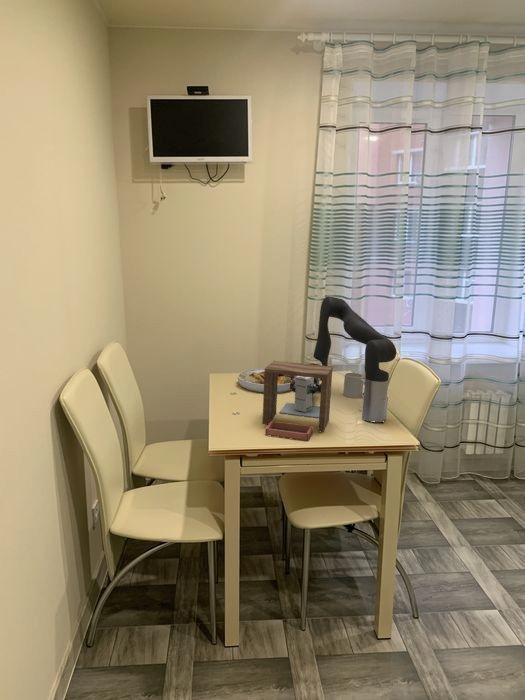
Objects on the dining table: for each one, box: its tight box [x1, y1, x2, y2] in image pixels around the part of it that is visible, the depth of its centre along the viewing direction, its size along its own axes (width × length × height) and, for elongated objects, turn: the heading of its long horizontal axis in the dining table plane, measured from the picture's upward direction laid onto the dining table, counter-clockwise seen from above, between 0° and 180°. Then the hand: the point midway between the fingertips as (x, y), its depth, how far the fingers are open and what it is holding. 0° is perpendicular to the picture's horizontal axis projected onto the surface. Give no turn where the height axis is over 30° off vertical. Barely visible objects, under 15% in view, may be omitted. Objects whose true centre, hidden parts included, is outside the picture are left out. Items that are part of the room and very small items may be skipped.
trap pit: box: [264, 420, 314, 442], centre depth 194 cm, size 9×16×2 cm, turn 74°
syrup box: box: [294, 376, 314, 412], centre depth 218 cm, size 6×6×14 cm
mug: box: [343, 372, 365, 399], centre depth 244 cm, size 11×10×10 cm
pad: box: [278, 402, 320, 419], centre depth 220 cm, size 14×18×1 cm
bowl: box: [237, 368, 296, 394], centre depth 256 cm, size 30×30×8 cm
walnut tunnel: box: [262, 360, 334, 433], centre depth 204 cm, size 14×24×22 cm, turn 74°
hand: (303, 391), depth 215 cm, fingers closed on syrup box, 7 cm apart
